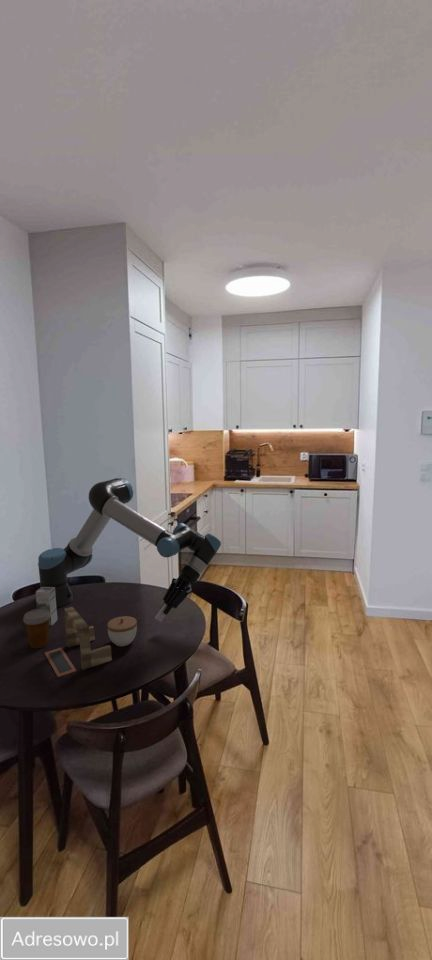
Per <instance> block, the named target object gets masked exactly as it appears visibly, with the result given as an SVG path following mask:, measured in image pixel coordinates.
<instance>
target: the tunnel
mask: <svg viewBox="0 0 432 960" xmlns="http://www.w3.org/2000/svg"><path fill="white" fill-rule="evenodd" d="M63 612H64V613H63V615H64V626H65V627H64V628H65V641H66V647H67V648H72V647H75V646H79V648H80V649H79V653H80V664H81V670H82V671H84V670H87V669H89V668H93V667H96V666H99V665H101V664H105V663H108V662H111V661H113V658H112V655H113V654H112V646H111V645H110V644H108V645H105V646H102V647H98V648H94V649H93V650H92V648H91V642H92V641H95V640H96V637H95V634H96V633H95V626H94V625H91V626H90V625H89V624H87V621H85V620H84V619H83V617H82V616H81V615H80V614H79V613H78V612H77V610H76V609H75V608H74V607H73V606H70V607H66V608H65V607H64V608H63Z"/></svg>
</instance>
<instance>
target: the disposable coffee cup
mask: <svg viewBox="0 0 432 960" xmlns="http://www.w3.org/2000/svg"><path fill="white" fill-rule="evenodd" d="M50 616H51V614H50V613H49V610H47V609H37V608H35V609H31V610H29V611H27V612H26V613H25V614H23V618H22V622H24V625H25V630H26V634H27V639H28V643H29V647H30V648H31V649H42V648H43V647H46V646H47V645H48V644H49V635H50V626H49V619H50Z"/></svg>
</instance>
